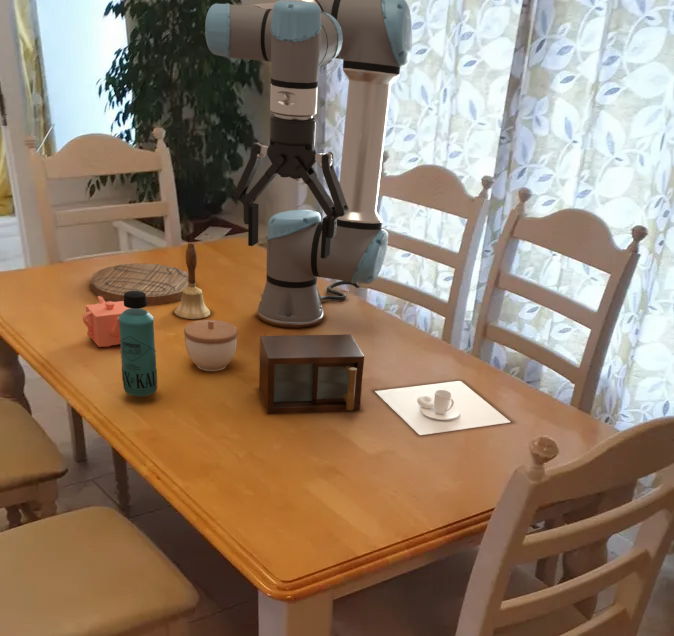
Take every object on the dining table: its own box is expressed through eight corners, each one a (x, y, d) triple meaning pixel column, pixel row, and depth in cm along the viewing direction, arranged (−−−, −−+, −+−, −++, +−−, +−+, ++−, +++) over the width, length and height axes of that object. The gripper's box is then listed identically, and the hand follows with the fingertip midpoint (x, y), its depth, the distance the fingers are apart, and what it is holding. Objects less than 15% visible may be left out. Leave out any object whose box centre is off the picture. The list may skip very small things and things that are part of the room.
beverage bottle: (125, 389, 176) (117, 286, 164) (160, 390, 176) (154, 287, 164) (121, 404, 170) (113, 298, 158) (157, 405, 171) (151, 299, 159)
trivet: (111, 266, 233) (110, 259, 232) (205, 277, 232) (205, 269, 230) (75, 298, 213) (74, 290, 212) (178, 309, 212) (178, 301, 210)
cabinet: (347, 387, 183) (351, 334, 177) (359, 410, 175) (364, 356, 168) (259, 389, 180) (259, 335, 173) (267, 413, 171) (268, 358, 165)
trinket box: (228, 379, 183) (228, 333, 177) (178, 371, 184) (176, 326, 178) (243, 359, 191) (243, 315, 185) (195, 352, 192) (193, 308, 187)
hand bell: (216, 310, 213) (215, 240, 203) (200, 322, 206) (198, 250, 197) (184, 304, 215) (182, 234, 205) (168, 315, 208) (164, 244, 199)
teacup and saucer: (410, 404, 178) (413, 385, 176) (445, 400, 181) (448, 381, 179) (431, 424, 172) (434, 404, 170) (467, 419, 175) (470, 399, 172)
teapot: (128, 325, 202) (125, 288, 197) (151, 350, 192) (149, 311, 187) (75, 332, 197) (71, 293, 192) (96, 357, 187) (92, 318, 182)
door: (350, 400, 175) (354, 358, 170) (357, 412, 171) (360, 370, 166) (311, 401, 173) (314, 359, 168) (317, 414, 169) (319, 370, 164)
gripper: (212, 108, 146) (215, 244, 159) (359, 128, 141) (349, 267, 154) (232, 102, 152) (232, 233, 165) (373, 121, 147) (362, 255, 159)
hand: (288, 250), depth 159 cm, fingers open, 13 cm apart
